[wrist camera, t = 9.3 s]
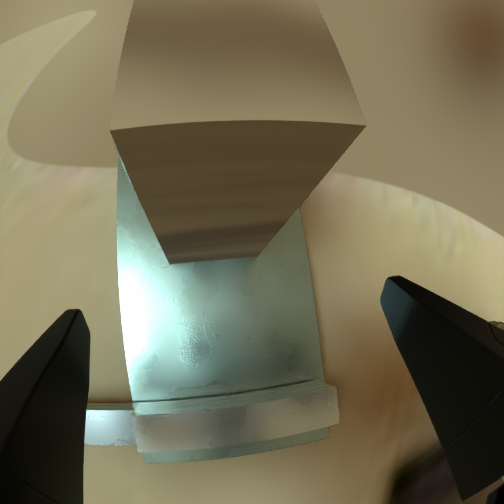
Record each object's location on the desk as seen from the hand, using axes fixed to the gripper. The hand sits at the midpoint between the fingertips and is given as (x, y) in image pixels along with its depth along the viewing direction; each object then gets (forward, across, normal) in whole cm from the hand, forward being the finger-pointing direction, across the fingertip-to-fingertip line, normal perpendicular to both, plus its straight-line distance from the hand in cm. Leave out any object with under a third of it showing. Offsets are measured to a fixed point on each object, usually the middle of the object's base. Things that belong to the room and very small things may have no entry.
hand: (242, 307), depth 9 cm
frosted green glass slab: (+9, 0, +6) cm, 11 cm away
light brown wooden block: (+2, +5, +10) cm, 12 cm away
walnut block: (+10, 0, +2) cm, 11 cm away
